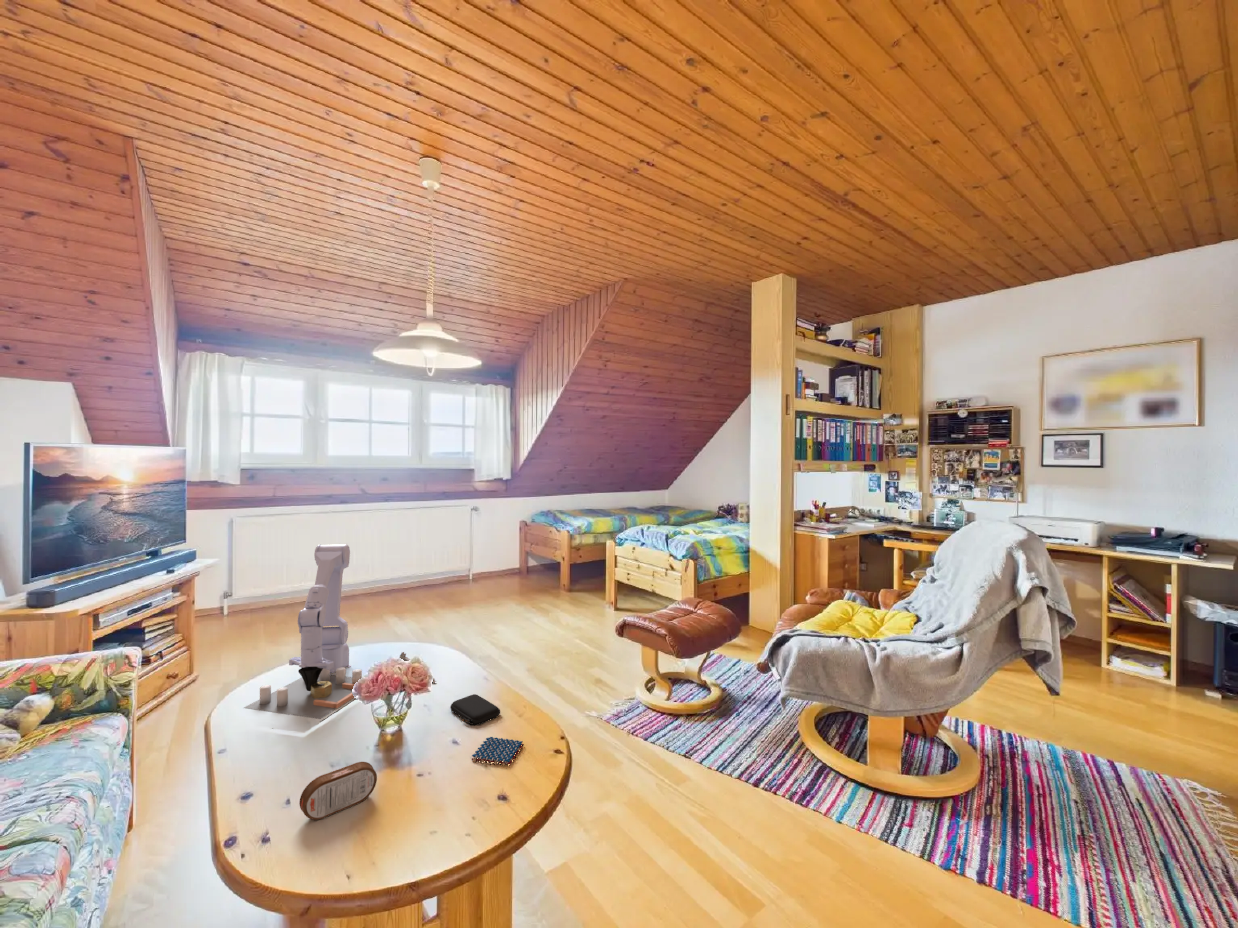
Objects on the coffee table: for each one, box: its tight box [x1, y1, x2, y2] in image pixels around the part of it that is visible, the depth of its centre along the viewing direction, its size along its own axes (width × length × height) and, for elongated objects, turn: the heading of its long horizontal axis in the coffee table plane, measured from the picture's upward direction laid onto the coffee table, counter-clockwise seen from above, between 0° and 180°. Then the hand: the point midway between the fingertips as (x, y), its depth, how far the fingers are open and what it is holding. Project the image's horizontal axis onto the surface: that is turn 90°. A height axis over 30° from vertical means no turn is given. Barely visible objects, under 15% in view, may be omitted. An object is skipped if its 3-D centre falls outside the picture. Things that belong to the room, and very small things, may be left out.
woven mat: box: [471, 736, 525, 766], centre depth 138 cm, size 10×11×2 cm
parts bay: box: [314, 683, 355, 709], centre depth 165 cm, size 13×8×1 cm, turn 168°
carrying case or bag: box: [450, 693, 501, 726], centre depth 159 cm, size 11×3×15 cm
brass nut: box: [311, 681, 332, 698], centre depth 166 cm, size 6×5×3 cm
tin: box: [298, 761, 378, 821], centre depth 116 cm, size 15×3×8 cm, turn 135°
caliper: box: [399, 651, 437, 684], centre depth 184 cm, size 20×1×6 cm, turn 55°
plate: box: [243, 667, 363, 723], centre depth 167 cm, size 26×26×6 cm
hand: (311, 689), depth 167 cm, fingers closed
